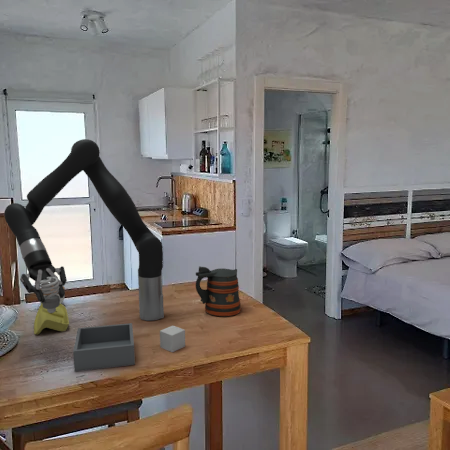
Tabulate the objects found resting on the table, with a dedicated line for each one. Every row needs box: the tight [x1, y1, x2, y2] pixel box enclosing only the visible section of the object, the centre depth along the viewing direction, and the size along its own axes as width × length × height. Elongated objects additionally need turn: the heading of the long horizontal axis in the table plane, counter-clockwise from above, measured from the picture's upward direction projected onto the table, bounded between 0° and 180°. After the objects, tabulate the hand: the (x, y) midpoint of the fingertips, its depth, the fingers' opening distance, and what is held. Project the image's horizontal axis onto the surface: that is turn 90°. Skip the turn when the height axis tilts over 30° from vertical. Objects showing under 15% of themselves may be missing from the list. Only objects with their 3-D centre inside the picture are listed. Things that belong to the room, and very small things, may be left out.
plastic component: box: [33, 303, 70, 336], centre depth 174 cm, size 20×7×10 cm
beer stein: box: [195, 266, 242, 317], centre depth 184 cm, size 19×15×20 cm
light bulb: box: [40, 277, 60, 313], centre depth 144 cm, size 6×6×12 cm
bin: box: [72, 322, 136, 372], centre depth 148 cm, size 18×18×6 cm
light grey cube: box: [159, 325, 186, 353], centre depth 154 cm, size 6×6×6 cm
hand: (53, 298), depth 143 cm, fingers closed on light bulb, 5 cm apart
